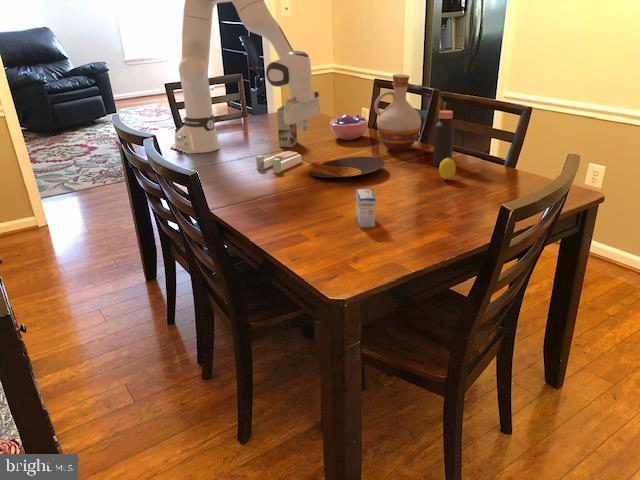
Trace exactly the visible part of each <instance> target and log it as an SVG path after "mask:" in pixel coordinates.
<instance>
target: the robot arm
mask: <svg viewBox="0 0 640 480" xmlns="http://www.w3.org/2000/svg"><path fill="white" fill-rule="evenodd" d="M230 3H231V4H232V5H233V6H234V8H235V11H236V12H237V16H238V17H239V19H240V22H241V24H243V26H244V27H245V29H246V30H247V31H249V32H250V33H253V34H256V35H258V36H261V37H263V38H265V40H267V41H268V42H270V44H271V45H272V47H273V49H274V50H275V52H276V54H277V57H278V58H279V59H276V60H274V61H272V62H270V63H269V64H268V65H267V66H266V69H265V77H266V80H267V81H268V84H270V85H271V86H273V87H279V88H280V87H283V86H288V89H289V98H288V99H286V101H285V103H284V105H283V106H284V122H285V124H291V125H292V124H295V123H297V128H298V130H299V131H298V132H300V133H303V132H306V131H307V130H308V124H309V119H311V118H314V117H316V116H319V114H320V112H321V108H320V107H321V103H320V102H321V101H320V95H321V94H320V91H318V90H314V89H313V85H312V65H311V59H310V57H309V54H308V53H306V52H304V51H301V50H294V49H293V47H292V45H291V44H290V42H289V40H288V39H287V37H286V35H285V33H284V31H283V29H282V28H281V26H280V24H279V23H278V22H277V21H276V19H275V18H274V16H273V15H272V13H271V11H270V10H269V8H268V6H267V4H266V2H265V0H184V5H183V6H184V8H183V14H182V15H183V16H182V17H183V18H182V28H181V29H182V30H181V31H182V32H181V60H180V63H179V64H178V73H179V79H180V83H181V84H180V85H181V90H182V95H183V96H182V97H183V101H184V102H183V103H184V110H185V117H182V118H181V119H182V120H181V121H182V122H183V123H184V124H183V126H182V127H181V128H180V129H179V130H178V131H177V132H176V133H175V135H174V143H173V144H171V145H170V146H169V148H170V147H171V148H174V149H177V150H179V151H178V152H180V151H182V152H181V153H184V152H185V153H184V154H187V153H188V155H189V154H199V153H200V154H201V153H203V154H204V153H210V152H214V151H217V150H219V149H221V146H220V144H221V143H220V141H219V139H218V138H219V137H218V133H217V129H216V127H215V123H216V120H215V115H214V113H213V104H212V96H211V89H210V88H211V87H210V82H209V81H210V80H209V74H208V73H209V67H210V66H209V64H210V62H209V61H210V52H211V51H210V50H211V36H212V24H213V11H214V7H215V6H216V5H217V4H218V5H226V4H230ZM171 148H170V149H171ZM174 149H173V150H174ZM177 150H176V151H177Z"/></svg>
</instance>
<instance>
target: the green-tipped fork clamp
mask: <svg viewBox="0 0 640 480" xmlns="http://www.w3.org/2000/svg"><path fill="white" fill-rule="evenodd" d="M255 160H256V161H255V162H256V170H257V171H263V170H265V169H267V168H271V167H273V169H272V170H273V174H279V173H282V171H285V170H287V169H289V168H292V167H294V166H297V165H298V164H302V154H299V153H298V155H296V156H294V157H291V158H289V159H286V160H284V161H281V159H278V158H275V159H274V155H273V156H270V157H268V158H265V159H264V155H257V156H255Z"/></svg>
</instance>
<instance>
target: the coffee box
mask: <svg viewBox="0 0 640 480" xmlns="http://www.w3.org/2000/svg"><path fill="white" fill-rule="evenodd" d="M284 106H285V105H282V106H280V107H278V108H277V110H276V113H277V114H276V115H277V130H278V131H277V132H278V134H277V135H278V147H279V148H280V147H284V148H285V147H286V148H293V147H294V146H295V145H296V144H297V143H298V125H297V123H295V124H292V125H291V124H285V122H284Z"/></svg>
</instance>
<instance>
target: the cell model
mask: <svg viewBox="0 0 640 480" xmlns="http://www.w3.org/2000/svg"><path fill="white" fill-rule="evenodd" d="M368 119H369V118H367V117H364V116H363V117H362V116H361V115H359V114H356V115H355V116H350V115H349V114H344V115H342V116H339V117H334V118H332V119H331V120H330V121H329V125H330V130H331V131H332V133H333V134H335V136H336V137H337V138H339V139H341V140H343V141H350V140H351V141H352V140H355V139H358V138H360V137H361V136H363V135H364V134H365V133H366V132H367V129H368V125H369V122H368V121H369V120H368Z"/></svg>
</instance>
